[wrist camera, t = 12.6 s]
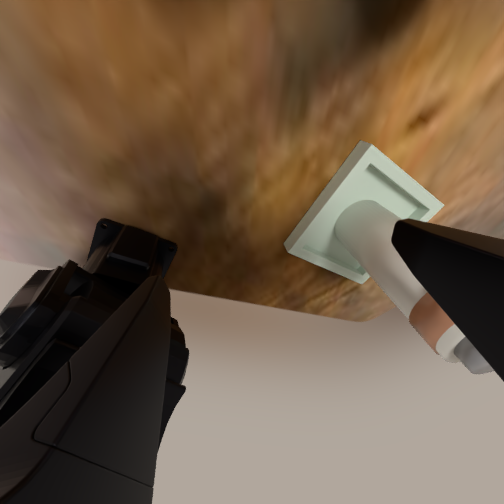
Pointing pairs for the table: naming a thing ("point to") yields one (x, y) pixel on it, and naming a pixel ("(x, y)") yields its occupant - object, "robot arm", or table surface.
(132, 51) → the table surface
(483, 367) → the bottle
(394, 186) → the tray
